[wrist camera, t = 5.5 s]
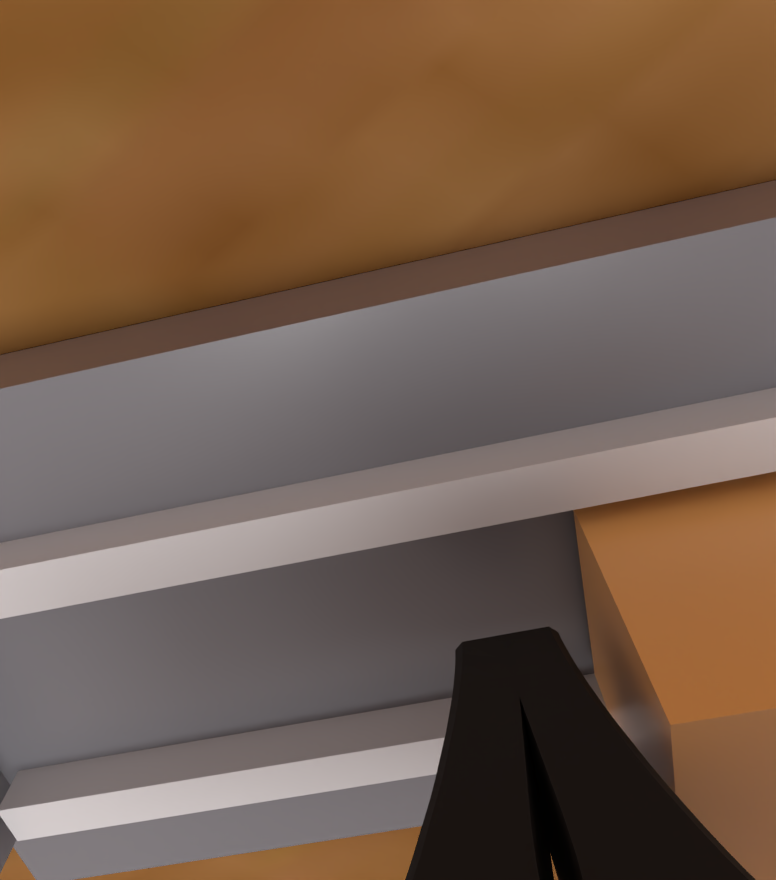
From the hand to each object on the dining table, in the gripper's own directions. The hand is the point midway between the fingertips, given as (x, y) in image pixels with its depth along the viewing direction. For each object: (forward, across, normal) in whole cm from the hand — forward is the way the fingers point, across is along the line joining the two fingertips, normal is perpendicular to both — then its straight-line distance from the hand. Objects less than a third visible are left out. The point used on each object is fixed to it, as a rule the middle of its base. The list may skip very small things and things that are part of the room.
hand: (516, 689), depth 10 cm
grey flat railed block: (+4, -1, 0) cm, 4 cm away
